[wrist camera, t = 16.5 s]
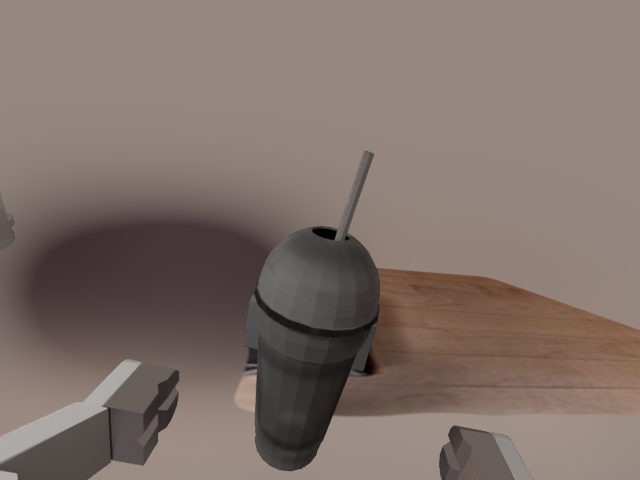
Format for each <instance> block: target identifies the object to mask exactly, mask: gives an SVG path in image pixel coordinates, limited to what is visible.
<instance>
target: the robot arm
mask: <svg viewBox="0 0 640 480" xmlns="http://www.w3.org/2000/svg"><path fill="white" fill-rule="evenodd" d="M13 224H14V220H13V217H12V215H9V214H6V210H5V207H4V203H3V200H2V197H1V193H0V250H1V249H3V248H5V247H7V246H8V245H9V244H11V243H12V242H13V240H14V238H15V235H14V233H13V231H12V229H11V227H12V226H13ZM178 381H179V371H177V370H175V369H171V368H166V367H162V366H158V365H153V364H149V363H145V362H144V363H143V362H139V361H134V360H130V359H127V360H125V361H123V362H121V363H120V364H119V366H118V367H116V369H115V370H114V371H113V372H112V373H111V374H110V375H109V376H108V377H107V378H106V379H105V380H104V381H103V382H102V383H101V384H100V385H99V386H98V387H97V388H96V389H95V390H94V391H93V392H92V393H91V394H90V396H88V397H87V398H86V399H85V400H84V401H83V403H81V402H75V403H73V404H71V405H69V406H66V407H64V408H62V409H60V410H58V411H55V412H53V413H51V414H49V415H47V416H45V417H42V418H40V419H38V420H36V421H33V422H31V423H29V424H27V425H25V426H22V427H20V428H18V429H16V430H14V431H11V432H9V433H7V434H5V435H3V436H1V437H0V480H88V479H89V478H90V477H92V476H93V475H94V474H96V473H97V472H98V471H100V470H101V469H103V468H104V467H105V466H107V465H108V464H109V463H111V460H113V461H119V462H125V463H131V464H137V465H144V464H145V462H146V461H147V459H148V457H149V456H150V454H151V452H152V451H153V449H154V447H155V446H156V444H157V442H158V432H160V431H162V430H163V429H165V428H166V427H167V426H168V424H169V422H170V421H171V419H172V416H173V414H174V412H175V409H176V406H177V402H178V391H177V390H176V388H175V385H176V384H177V383H178ZM448 436H449V439H450V442H449V443H447V444H446V445H444V446H443V448H442V450H441V453H440V461H439V467H440V475H441V478H442V480H533V478H532V477H531V475H530V473H529V471H528V469H527V468H526V466H525V464H524V462H523V460H522V459H521V457H520V455H519V453H518V451H517V449H516V447H515V446H514V444H513V442H512V440H511V439H510V438H509V437H508V436H507V435H502V434H496V433H491V432H486V431H481V430H476V429H470V428H465V427H460V426H453V427H452V428H451V429H450V432H449V434H448Z"/></svg>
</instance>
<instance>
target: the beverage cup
mask: <svg viewBox="0 0 640 480" xmlns="http://www.w3.org/2000/svg"><path fill="white" fill-rule="evenodd" d="M373 156H374V154H373V153H371V152H368V151H364V153H363V156H362V159H361V162H360V165H359V168H358V171H357V174H356V177H355V180H354V183H353V186H352V189H351V192H350V195H349V198H348V201H347V204H346V207H345V210H344V213H343V216H342V219H341V222H340V225H339V228H338V229H335V228H331V227H323V226H322V227H321V226H320V227H309V228H306V229H303V230H300V231H297V232H295V233H293V234H291V235H289V236H288V237H287V238H285V239H284V240H283V241H282V242H281V243H279V244H278V245H277V246H276V247H275V248H274V249H273V251H272V252H271V253H270V255H269V256H268V258H267V260H266V262H265V264H264V266H263V269H262V272H261V276H260V278H259V280H258V282H257V285H256V288H255V292H254V296H255V299H256V315H257V324H258V328H259V338H258V360H257V382H256V404H255V427H256V428H255V429H256V431H255V433H256V436H255V443H256V448H257V451H258V453H259V454H260V456H261V458H262V459H263V460H264V461H265V462H266V463H267V464H269V465H270V466H272V467H274V468H276V469H279V470H284V471H294V470H298V469H302V468H303V467H305V466H306V465H308V464H309V463H310V462H311V461H312V460H313V458H314V457H315V456H316V454H317V450H318V448H319V446H320V444H321V442H322V441H323V439H324V437H325V434H326V431H327V429H328V426H329V424H330V421H331V419H332V416H333V414H334V411H335V409H336V406H337V403H338V401H339V398H340V396H341V393H342V391H343V388H344V386H345V383H346V381H347V378H348V375H349V373H350V370H351V368H352V365H353V363H354V360H355V358H356V355H357V353H358V351H359V350H360V349H361V347H362V346H363V344H364V342H365V341H366V339H367V337H368V335H369V333H370V331H371V328H372V326H373V325H374V324H375V323H376V322H377V320H378V314H379V304H378V303H379V297H380V281H379V275H378V272H377V269H376V266H375V264H374V262H373V260H372V258H371V256H370V254H369V252H368V251H367V250H366V248H365V247H364V246H363V245H362V244H361V243H360V242H359V241H358V240H357V239H355V238H354V237H353V236H351V235H349V234H348V233H347V232H348V229H349V226H350V223H351V220H352V217H353V214H354V211H355V208H356V205H357V203H358V199H359V197H360V194H361V191H362V188H363V185H364V182H365V179H366V176H367V173H368V170H369V168H370V165H371V162H372V159H373Z"/></svg>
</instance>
